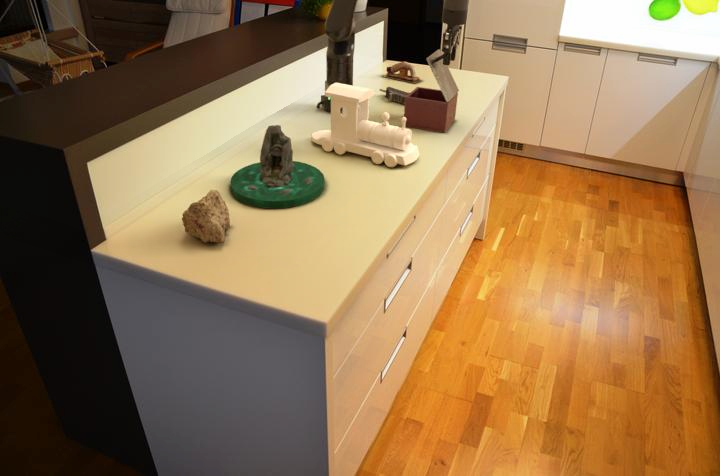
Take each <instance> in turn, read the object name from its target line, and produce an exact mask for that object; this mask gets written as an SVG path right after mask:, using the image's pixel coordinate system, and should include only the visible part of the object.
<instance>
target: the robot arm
mask: <svg viewBox="0 0 720 476" xmlns="http://www.w3.org/2000/svg"><path fill="white" fill-rule="evenodd" d="M358 1H359V0H333V1H332V4H331V7H330V10H329V13H328V15H327V16H326V17H327V18H326V20H325V22H324V32H325V34H326V36H327V47H326V48H327V49H326V53H325V54H326V55H325V58H326V59H325V61H326V67H325V68H326V71H325V72H326V80H325V81H324V92H325V91H326V90H327V89H328V88H329V86H330V85H332V84H334V83H341V84H346V85H352V86H354V55H355V45H356V44H355V42H356V21H355V11H356V8H357V4H358ZM469 3H470V0H443V6H442V14H441V22H442V23H443V24H446V25H447V26H446V29H445V30H444V32H443V33H442V44H441V53H444V57H443V65H447V66H450V65H451V62H454V61H456V55H457V49H458V47H459V46H460V41H461V34H462V29H463V26H464V25H466V23H467V19H468V11H469ZM452 51H453V54H452V55H451V53H452ZM321 106H322V107H323V109H325V110H327V111H328V113H331V97H326V96H325V94H324V95H323V94H322V95H320V101H319V102H318V103H317V104H316V108H317V110H320V109H321ZM342 112H343V107H342V108H341V109H340V113H341V114H342Z"/></svg>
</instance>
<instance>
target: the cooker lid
mask: <svg viewBox="0 0 720 476" xmlns="http://www.w3.org/2000/svg"><path fill="white" fill-rule="evenodd" d="M452 54H453V51H452V53H451V55H452ZM443 57H444V52H442V50H441V49H440V48H439V49H437V50H436V51H434V52H433V53H431V55H429V56H428V57H426V62H427V64H428V66H429V68H430V70H431V72H432V75H433V76H434V79H435V81H436V83H437V85H438V87H439V90H441V91H442V93H443V95H444V97H445V100H446V102H449V101H450V100H451V99H452V98H453V97H454V96H455V95H456V93H457V92H458V93H459V92H460V89H459V87H458V85H457V83H456V80H455V79H454V76H453V75H452V72H451V71H450V68H449V65H443Z"/></svg>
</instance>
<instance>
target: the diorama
mask: <svg viewBox="0 0 720 476" xmlns="http://www.w3.org/2000/svg"><path fill="white" fill-rule="evenodd" d="M261 144H262V145H261V148H260V156H259V162H255V163H251V164H249V165H245V166H244V167H242V168H239V169H238V170H237V171H235V172H234V173H233V175H232V176H231V177H230V181H229V184H230V191H231V194H232V196H233V197H234V198H235V199H236V200H238V201H239V202H240V203H242V204H245V205H249V206H252V207H257V208H262V209H287V208H295V207H298V206H302V205H305V204H307V203H310V202H312V201H314V200H316V199H317V198H318V197H319V196H321V195H322V194H323V192H324V191H325V187H326V185H325V182H326V181H325V176H324V174H323V172H322V171H321V170H320V169H318V168H317V167H316V166H313V165H311V164H309V163H306V162H301V161H296V160H294V159H293V156H294V154H293V153H294V150H293V147H292V139H291V137H289V136H287V135H286V134H285V133H284V132H283V131H282V126H281V125H279V124H275V125H269V126H268V127H267V128H266V130H265V133H264V137H263V141H262V143H261Z"/></svg>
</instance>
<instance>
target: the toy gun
mask: <svg viewBox="0 0 720 476" xmlns="http://www.w3.org/2000/svg"><path fill="white" fill-rule="evenodd" d="M379 91H380V92H382V93H385V97H386V98H388V102H391V101H394V102H397V103H399V104H400V103H401V104H403V105H405V97H406V96H407V95H408V94H410V93H411V92H407V91H404V90H401V89H399V88H394V87H391V86H387V87H386V89H383V88H379Z"/></svg>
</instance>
